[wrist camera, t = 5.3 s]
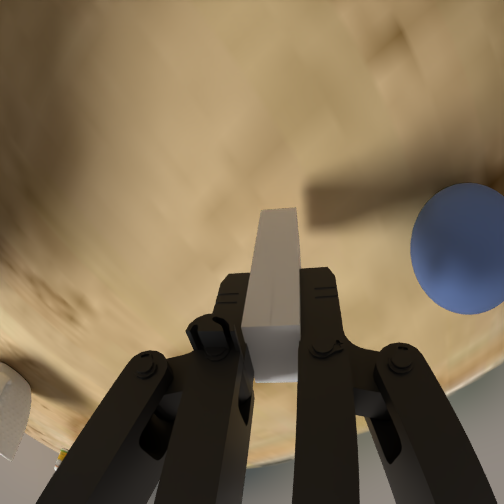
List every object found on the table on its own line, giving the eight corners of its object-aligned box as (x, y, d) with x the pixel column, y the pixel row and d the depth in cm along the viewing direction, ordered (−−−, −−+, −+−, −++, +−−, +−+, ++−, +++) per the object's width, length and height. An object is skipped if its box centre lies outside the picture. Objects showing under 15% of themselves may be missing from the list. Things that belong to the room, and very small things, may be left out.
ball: (513, 300, 12) (440, 245, 17) (555, 206, 9) (461, 154, 13) (461, 363, 10) (376, 286, 15) (522, 254, 7) (394, 176, 11)
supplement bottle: (82, 458, 61) (73, 486, 53) (70, 454, 62) (61, 481, 54) (70, 450, 58) (59, 479, 50) (58, 446, 59) (47, 473, 51)
